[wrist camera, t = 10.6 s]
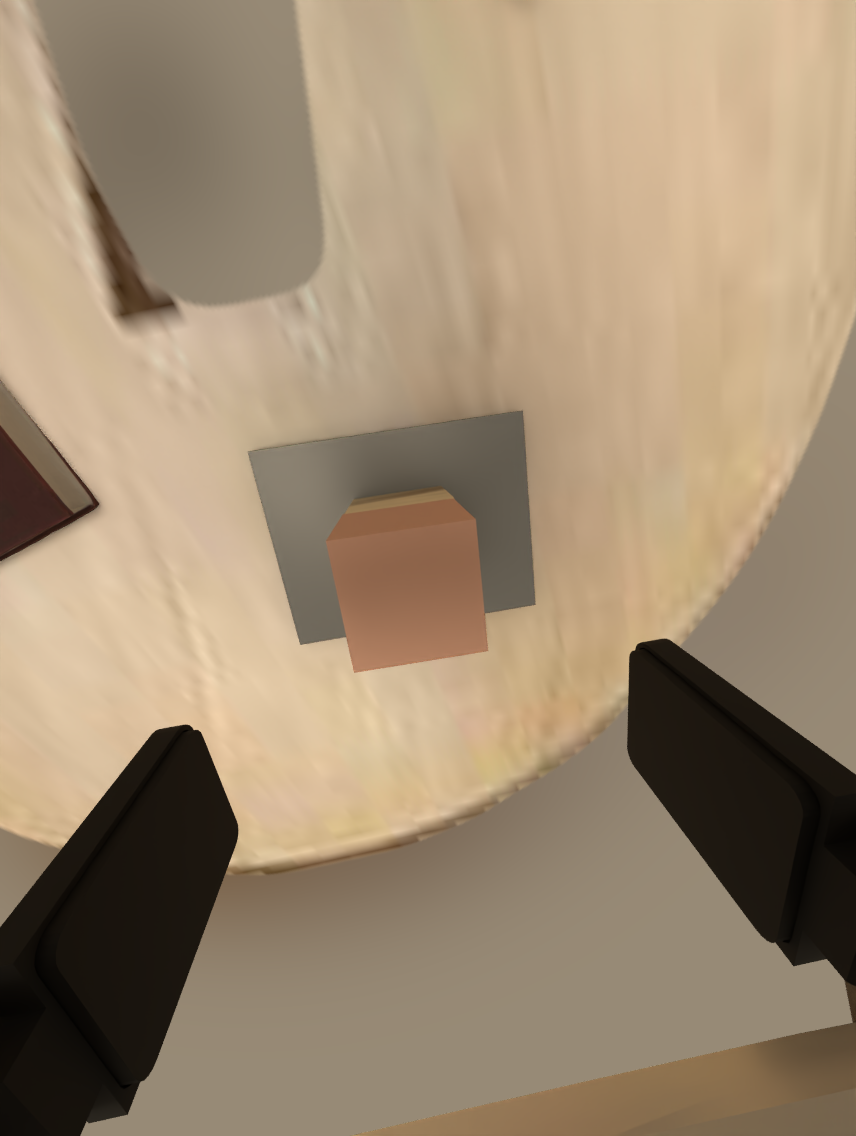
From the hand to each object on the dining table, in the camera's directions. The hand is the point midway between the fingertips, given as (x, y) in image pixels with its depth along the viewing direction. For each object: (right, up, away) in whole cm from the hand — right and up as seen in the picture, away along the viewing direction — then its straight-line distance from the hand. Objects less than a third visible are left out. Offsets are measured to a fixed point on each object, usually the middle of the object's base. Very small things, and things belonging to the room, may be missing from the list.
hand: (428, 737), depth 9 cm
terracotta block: (-1, +4, +14) cm, 15 cm away
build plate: (-2, +6, +20) cm, 22 cm away
